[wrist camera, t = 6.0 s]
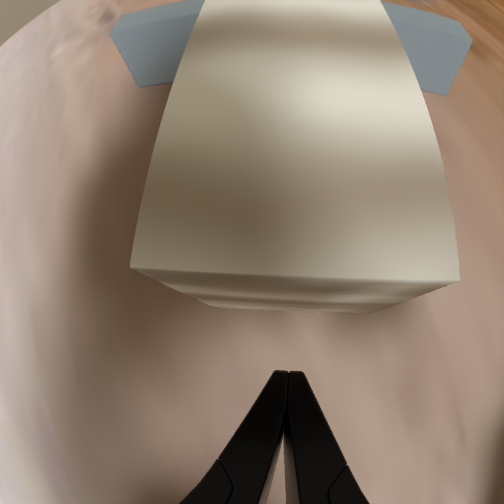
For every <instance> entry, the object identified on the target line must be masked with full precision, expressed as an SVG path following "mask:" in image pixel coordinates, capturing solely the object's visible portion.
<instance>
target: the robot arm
mask: <svg viewBox="0 0 504 504" xmlns="http://www.w3.org/2000/svg"><path fill="white" fill-rule="evenodd" d="M283 432H284V436H283ZM282 439H283V441H284V464H285V487H286V504H369V502H368V501H367V499H366V497H365V496H364V494H363V493H362V491H361V489H360V487H359V486H358V484H357V482H356V480H355V478H354V476H353V474H352V472H351V470H350V468H349V466H348V465H347V462H346V460H345V458H344V456H343V454H342V452H341V449H340V447H339V445H338V443H337V441H336V439H335V437H334V435H333V433H332V431H331V429H330V426H329V424H328V422H327V420H326V418H325V416H324V414H323V412H322V410H321V408H320V406H319V403H318V401H317V399H316V397H315V395H314V393H313V391H312V389H311V387H310V385H309V382H308V380H307V378H306V376H305V374H304V373H303V372H302V371H290V372H289V373H288V371H283V370H275V371H274V372H273V373H272V375H271V377H270V378H269V380H268V382H267V383H266V385H265V387H264V388H263V390H262V392H261V393H260V395H259V396H258V398H257V400H256V401H255V403H254V404H253V406H252V407H251V409H250V411H249V412H248V414H247V415H246V417H245V418H244V420H243V421H242V423H241V424H240V426H239V428H238V429H237V431H236V432H235V434H234V435H233V437H232V438H231V440H230V441H229V442H228V444H227V445H226V447H225V448H224V450H223V451H222V453H221V454H220V456H219V457H218V458H219V459H217V460H216V461H215V463H214V464H213V465H212V467H211V468H210V470H209V471H208V472H207V473H206V475H205V476H204V477H203V478H202V480H201V481H200V482H199V483H198V484H197V486H196V487H195V488H194V489H193V490H192V491H191V492H190V493H189V494H188V495H187V496H186V497H185V498H184V499H183V500H182V501H181V502H180V503H179V504H266V502H267V498H268V495H269V491H270V487H271V484H272V480H273V476H274V472H275V468H276V464H277V460H278V456H279V452H280V448H281V444H282ZM346 465H347V466H346Z"/></svg>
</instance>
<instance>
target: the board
mask: <svg viewBox="0 0 504 504" xmlns="http://www.w3.org/2000/svg"><path fill="white" fill-rule="evenodd" d="M204 2H205V0H185V1H180V2H174V3H169V4H164V5H160V6H155V7H151V8H147V9H143V10H139V11H135V12H131V13H128V14H124V15H122V16H121V17H120V18H119V20H118V21H117V22H116V24H115V25H114V27H113V28H112V30H111V31H110V33H109V34H110V36H111V38H112V40H113V41H114V43H115V45H116V47H117V49H118V51H119V52H120V54H121V56H122V58H123V60H124V61H125V63H126V65H127V67H128V69H129V71H130V72H131V74H132V76H133V78H134V80H135V81H136V83H137V85H138V87H143V86H149V85H155V84H162V83H169V82H174V79H175V76H176V73H177V70H178V67H179V64H180V62H181V59H182V56H183V53H184V51H185V48H186V45H187V43H188V40H189V38H190V35H191V33H192V30H193V28H194V25H195V23H196V20H197V18H198V16H199V13H200V11H201V9H202V6H203V4H204ZM380 2H381V3H382V5H383V7H384V9H385V11H386V13H387V14H388V16H389V18H390V20H391V22H392V24H393V26H394V28H395V30H396V32H397V34H398V37H399V39H400V41H401V43H402V45H403V47H404V50H405V52H406V54H407V56H408V59H409V61H410V64H411V66H412V68H413V71H414V73H415V76H416V79H417V81H418V84H419V86H420V89H421V90H424V91H429V92H434V93H438V94H442V95H446V94H447V92H448V90H449V89H450V87H451V85H452V83H453V81H454V79H455V77H456V75H457V73H458V71H459V69H460V67H461V65H462V63H463V61H464V58H465V56H466V54H467V52H468V50H469V48H470V46H471V43H472V39H471V38H470V36H469V35H468V33H467V32H466V30H465V29H464V28H463V26H462V25H461V23H460V22H459V21H456V20H453V19H450V18H447V17H444V16H440V15H437V14H434V13H430V12H427V11H423V10H419V9H415V8H411V7H407V6H403V5H398V4H393V3H388V2H383V1H380Z"/></svg>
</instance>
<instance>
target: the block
mask: <svg viewBox="0 0 504 504" xmlns="http://www.w3.org/2000/svg"><path fill="white" fill-rule="evenodd" d="M129 267H130V268H132V269H134V270H136V271H138V272H140V273H142V274H144V275H146V276H148V277H150V278H152V279H154V280H156V281H158V282H160V283H162V284H164V285H166V286H168V287H170V288H173V289H175V290H177V291H179V292H181V293H183V294H185V295H187V296H190V297H192V298H194V299H196V300H198V301H200V302H203V303H205V304H207V305H209V306H212V307H225V308H240V309H256V310H275V311H298V312H330V313H371V312H374V311H377V310H380V309H383V308H386V307H389V306H392V305H395V304H398V303H401V302H404V301H407V300H409V299H412V298H415V297H418V296H420V295H423V294H426V293H429V292H431V291H434V290H437V289H439V288H442V287H444V286H447V285H449V284H452V283H454V282H457V281H459V280H460V273H459V260H458V250H457V241H456V233H455V226H454V219H453V213H452V207H451V201H450V195H449V190H448V185H447V180H446V176H445V171H444V167H443V162H442V158H441V154H440V150H439V147H438V143H437V139H436V136H435V132H434V129H433V125H432V122H431V119H430V116H429V112H428V109H427V106H426V103H425V100H424V98H423V95H422V92H421V89H420V86H419V84H418V81H417V79H416V76H415V73H414V71H413V68H412V66H411V64H410V61H409V59H408V56H407V54H406V52H405V50H404V47H403V45H402V43H401V41H400V39H399V37H398V34H397V32H396V30H395V28H394V26H393V24H392V22H391V20H390V18H389V16H388V14H387V13H386V11H385V9H384V7H383V5H382V3H381V2H380V0H205V2H204V4H203V6H202V9H201V11H200V13H199V16H198V18H197V20H196V23H195V25H194V28H193V30H192V33H191V35H190V38H189V40H188V43H187V45H186V48H185V51H184V53H183V56H182V59H181V62H180V64H179V67H178V70H177V73H176V76H175V79H174V82H173V85H172V88H171V91H170V94H169V97H168V100H167V104H166V107H165V110H164V113H163V117H162V120H161V124H160V127H159V131H158V134H157V138H156V142H155V145H154V149H153V153H152V157H151V161H150V165H149V169H148V173H147V177H146V182H145V186H144V191H143V195H142V200H141V205H140V209H139V214H138V220H137V225H136V230H135V236H134V241H133V247H132V253H131V260H130V266H129Z"/></svg>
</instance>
